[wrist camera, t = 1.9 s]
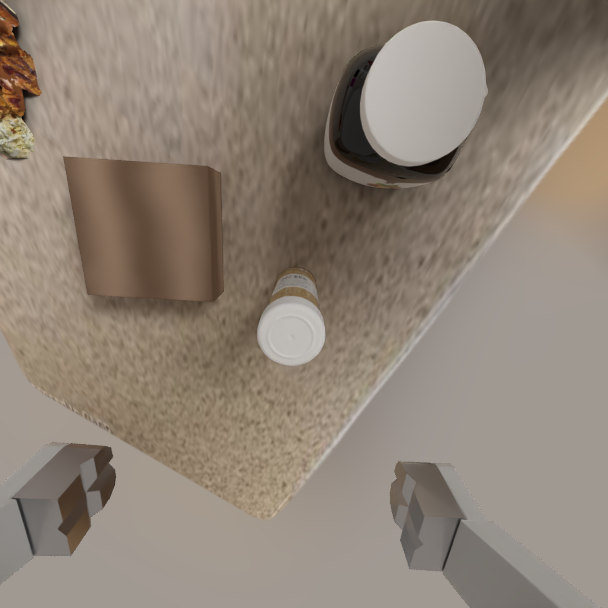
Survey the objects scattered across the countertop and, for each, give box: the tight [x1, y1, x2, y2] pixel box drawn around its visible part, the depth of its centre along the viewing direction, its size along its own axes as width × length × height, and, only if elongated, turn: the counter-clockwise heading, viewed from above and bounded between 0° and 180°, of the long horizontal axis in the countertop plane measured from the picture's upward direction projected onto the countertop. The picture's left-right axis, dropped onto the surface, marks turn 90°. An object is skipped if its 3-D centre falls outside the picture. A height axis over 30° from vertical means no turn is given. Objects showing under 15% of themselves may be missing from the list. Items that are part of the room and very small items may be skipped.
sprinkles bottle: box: [257, 267, 325, 366], centre depth 25 cm, size 5×5×14 cm
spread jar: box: [324, 20, 488, 189], centre depth 21 cm, size 12×11×12 cm
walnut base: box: [63, 157, 224, 302], centre depth 27 cm, size 12×12×4 cm
